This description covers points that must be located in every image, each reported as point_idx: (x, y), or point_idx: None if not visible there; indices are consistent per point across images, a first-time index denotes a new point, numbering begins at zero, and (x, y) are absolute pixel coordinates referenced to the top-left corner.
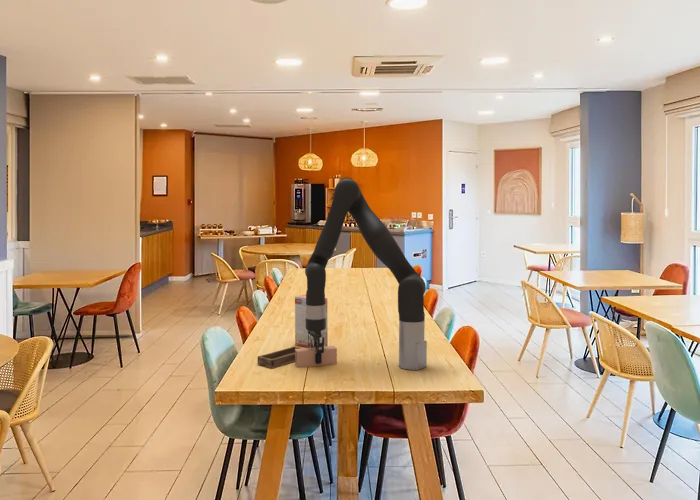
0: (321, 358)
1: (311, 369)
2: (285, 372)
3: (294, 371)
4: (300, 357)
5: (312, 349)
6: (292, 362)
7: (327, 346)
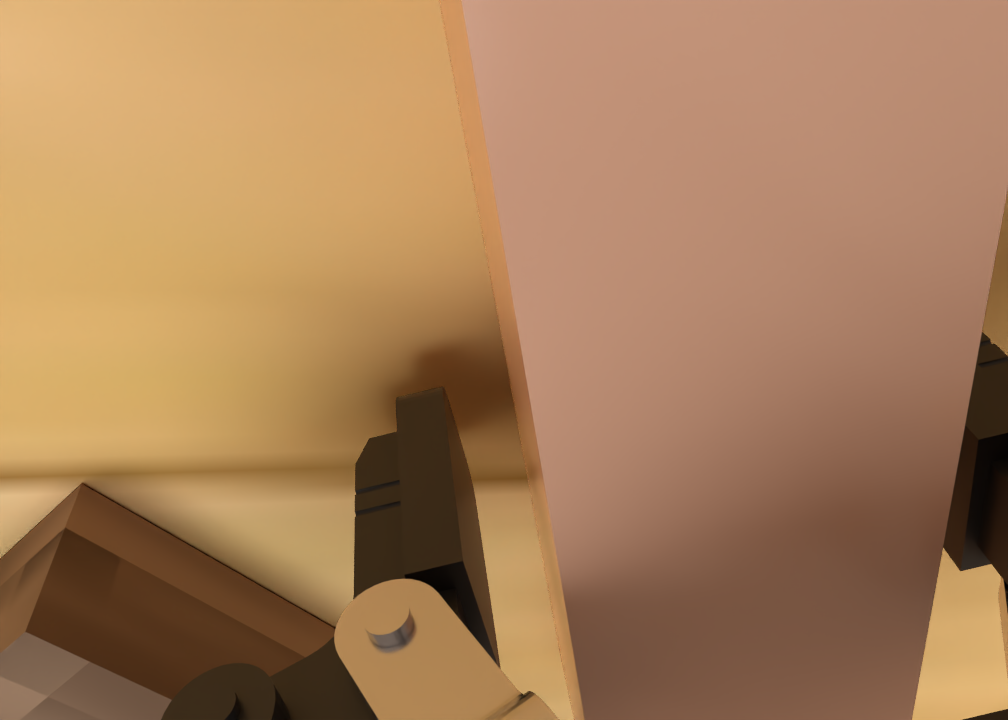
0: None
1: None
2: (947, 716)
3: (956, 632)
4: None
5: (816, 700)
6: None
7: (543, 284)
